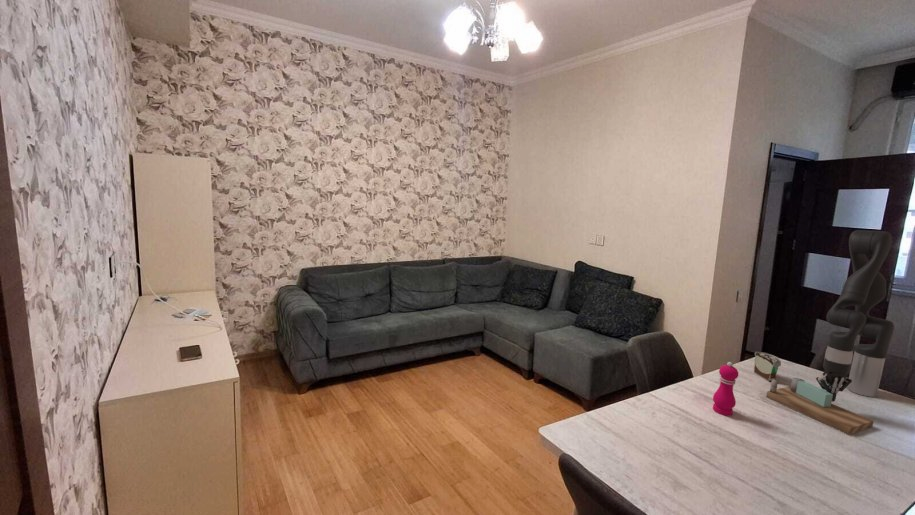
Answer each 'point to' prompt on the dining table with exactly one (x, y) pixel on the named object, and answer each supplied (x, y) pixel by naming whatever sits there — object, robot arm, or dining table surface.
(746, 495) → the dining table surface
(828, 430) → the dining table surface
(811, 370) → the dining table surface
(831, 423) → the board
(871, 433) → the dining table surface
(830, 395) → the hinged leg
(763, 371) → the food container
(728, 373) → the pepper mill
